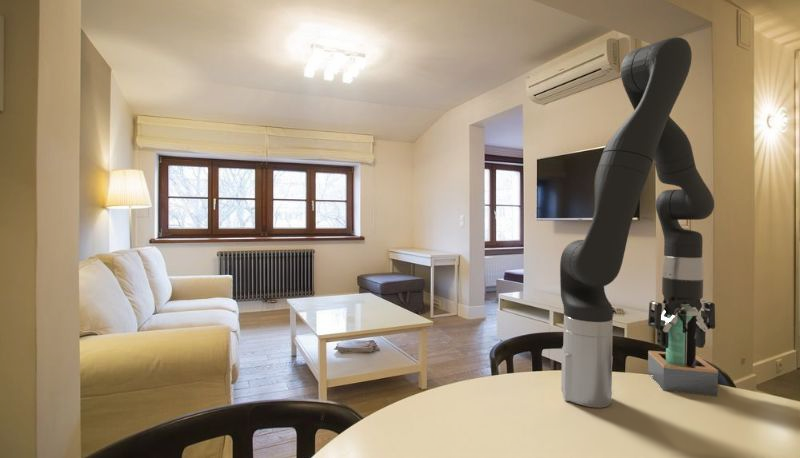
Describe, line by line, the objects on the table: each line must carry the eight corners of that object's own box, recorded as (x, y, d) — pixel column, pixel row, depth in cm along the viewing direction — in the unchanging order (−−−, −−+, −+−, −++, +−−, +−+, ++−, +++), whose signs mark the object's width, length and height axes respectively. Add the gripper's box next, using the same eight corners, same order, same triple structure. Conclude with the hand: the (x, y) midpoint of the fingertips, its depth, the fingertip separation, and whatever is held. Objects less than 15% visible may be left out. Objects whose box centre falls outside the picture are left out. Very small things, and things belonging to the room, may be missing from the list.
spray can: (700, 390, 84) (702, 300, 84) (672, 388, 85) (674, 299, 85) (686, 380, 89) (688, 295, 89) (661, 378, 91) (662, 294, 90)
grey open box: (663, 390, 84) (663, 365, 84) (647, 373, 94) (648, 350, 94) (717, 396, 81) (718, 370, 81) (695, 378, 91) (696, 354, 91)
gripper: (664, 278, 83) (663, 353, 83) (726, 278, 84) (725, 352, 84) (641, 274, 90) (639, 342, 91) (698, 274, 91) (696, 341, 91)
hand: (680, 346), depth 87 cm, fingers open, 8 cm apart
